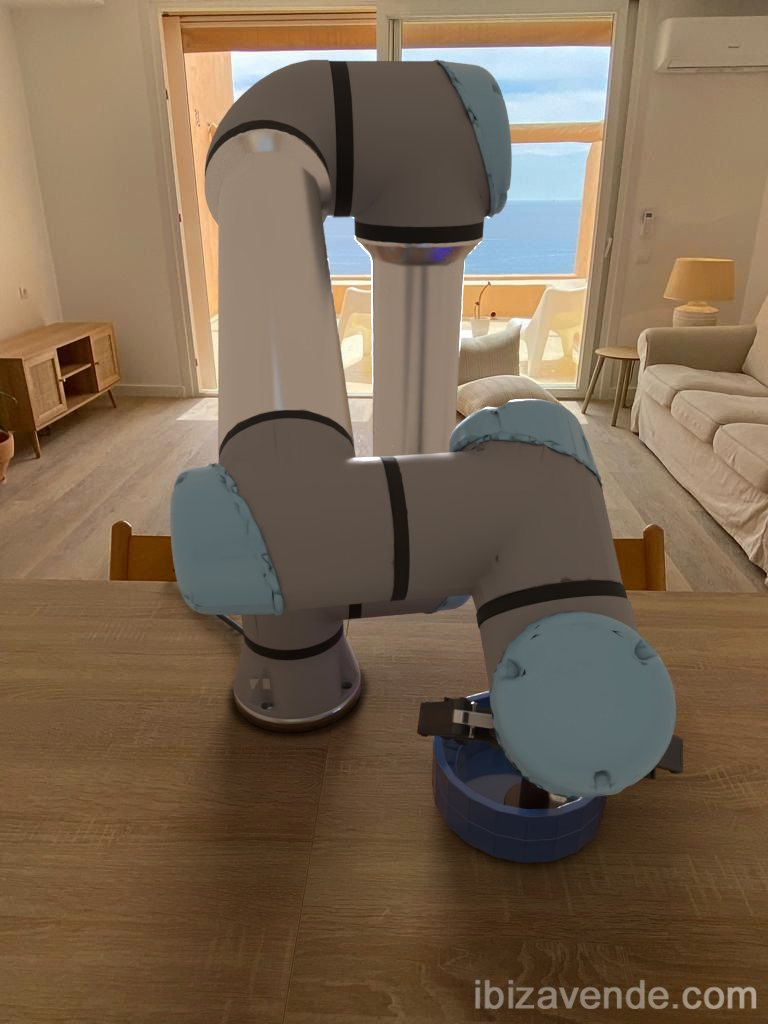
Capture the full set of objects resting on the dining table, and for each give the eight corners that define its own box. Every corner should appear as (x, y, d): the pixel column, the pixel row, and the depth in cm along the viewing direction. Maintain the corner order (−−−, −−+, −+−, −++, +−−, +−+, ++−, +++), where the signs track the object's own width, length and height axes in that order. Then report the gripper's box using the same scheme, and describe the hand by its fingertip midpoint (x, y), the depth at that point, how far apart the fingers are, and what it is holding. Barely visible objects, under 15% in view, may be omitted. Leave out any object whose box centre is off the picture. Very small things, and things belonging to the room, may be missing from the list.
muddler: (492, 800, 68) (502, 676, 62) (541, 784, 70) (556, 662, 63) (523, 845, 63) (537, 716, 57) (575, 826, 65) (594, 699, 59)
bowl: (406, 761, 74) (407, 713, 71) (540, 720, 79) (545, 674, 76) (482, 894, 60) (486, 841, 57) (638, 834, 65) (649, 783, 62)
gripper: (350, 757, 43) (397, 763, 63) (785, 827, 38) (689, 810, 58) (368, 638, 46) (408, 679, 65) (779, 689, 41) (690, 717, 60)
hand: (540, 740), depth 62 cm, fingers open, 13 cm apart
